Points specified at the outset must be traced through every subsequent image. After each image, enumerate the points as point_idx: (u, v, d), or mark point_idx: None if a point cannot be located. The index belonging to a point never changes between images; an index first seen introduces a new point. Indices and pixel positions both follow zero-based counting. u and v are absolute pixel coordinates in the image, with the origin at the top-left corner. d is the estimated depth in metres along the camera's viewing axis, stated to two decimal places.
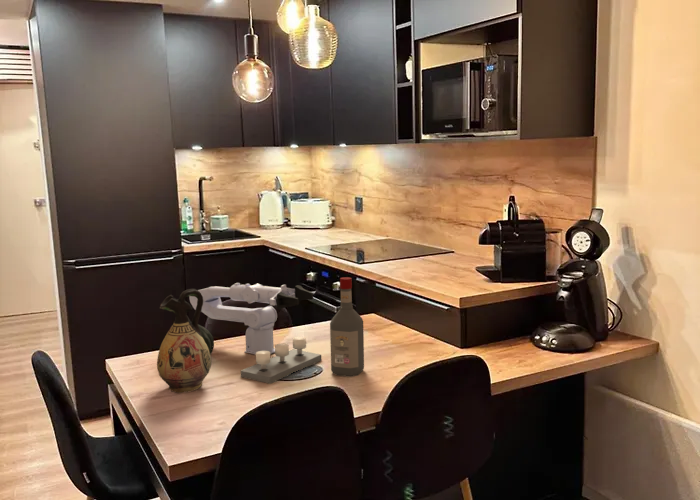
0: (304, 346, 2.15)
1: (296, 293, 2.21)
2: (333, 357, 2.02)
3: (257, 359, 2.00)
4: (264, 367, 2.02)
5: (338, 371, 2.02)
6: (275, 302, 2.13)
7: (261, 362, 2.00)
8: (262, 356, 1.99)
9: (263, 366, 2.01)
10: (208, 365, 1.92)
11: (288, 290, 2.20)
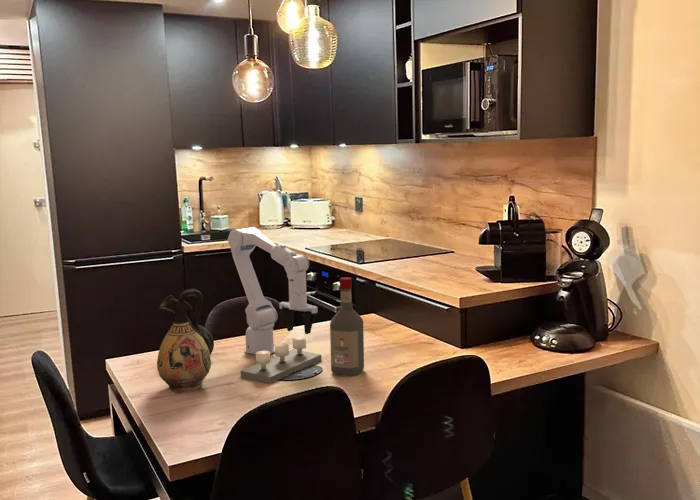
0: (304, 346, 2.15)
1: None
2: (333, 357, 2.02)
3: (257, 359, 2.00)
4: (264, 367, 2.02)
5: (338, 371, 2.02)
6: None
7: (261, 362, 2.00)
8: (262, 356, 1.99)
9: (263, 366, 2.01)
10: (208, 365, 1.92)
11: None
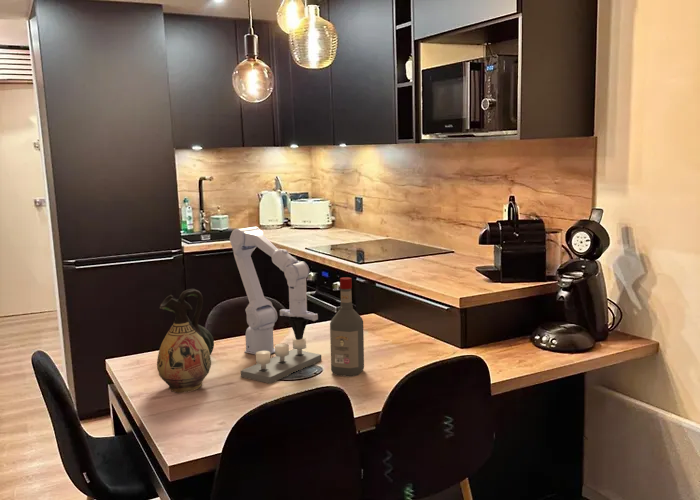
0: (304, 346, 2.15)
1: None
2: (333, 357, 2.02)
3: (257, 359, 2.00)
4: (264, 367, 2.02)
5: (338, 371, 2.02)
6: None
7: (261, 362, 2.00)
8: (262, 356, 1.99)
9: (263, 366, 2.01)
10: (208, 365, 1.92)
11: None
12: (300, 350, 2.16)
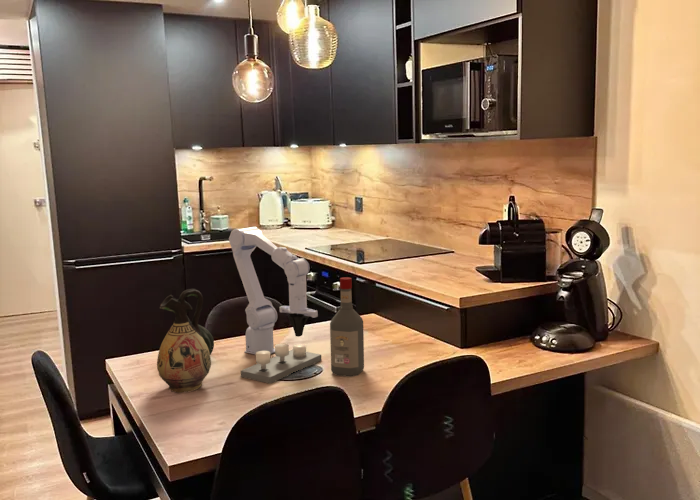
0: (304, 354, 2.16)
1: None
2: (333, 357, 2.02)
3: (257, 359, 2.00)
4: (264, 367, 2.02)
5: (338, 371, 2.02)
6: None
7: (261, 362, 2.00)
8: (262, 356, 1.99)
9: (263, 366, 2.01)
10: (208, 365, 1.92)
11: None
12: None
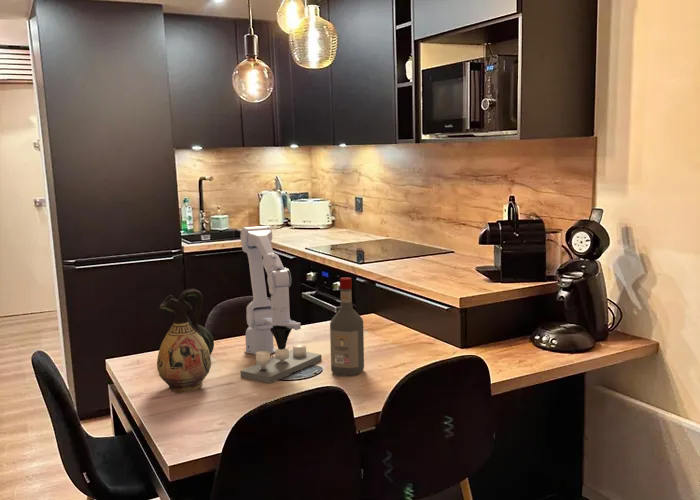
0: (304, 354, 2.16)
1: None
2: (333, 357, 2.02)
3: (257, 359, 2.00)
4: (264, 367, 2.02)
5: (338, 371, 2.02)
6: None
7: (261, 362, 2.00)
8: (262, 356, 1.99)
9: (263, 366, 2.01)
10: (208, 365, 1.92)
11: None
12: None
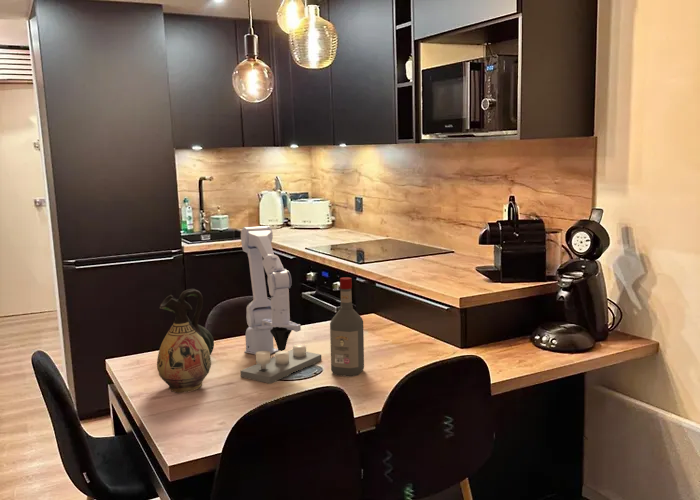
0: (304, 354, 2.16)
1: None
2: (333, 357, 2.02)
3: (257, 359, 2.00)
4: (264, 367, 2.02)
5: (338, 371, 2.02)
6: None
7: (261, 362, 2.00)
8: (262, 356, 1.99)
9: (263, 366, 2.01)
10: (208, 365, 1.92)
11: None
12: None
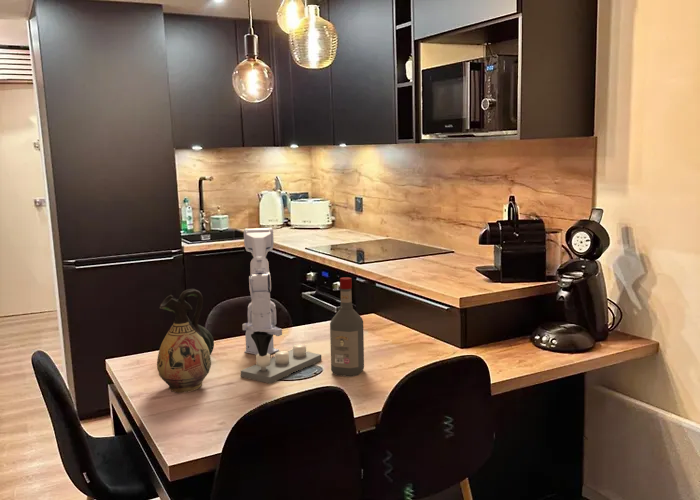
0: (304, 354, 2.16)
1: None
2: (333, 357, 2.02)
3: (257, 361, 2.00)
4: (264, 369, 2.02)
5: (338, 371, 2.02)
6: None
7: (261, 364, 2.00)
8: (262, 358, 2.00)
9: (263, 368, 2.02)
10: (208, 365, 1.92)
11: None
12: None
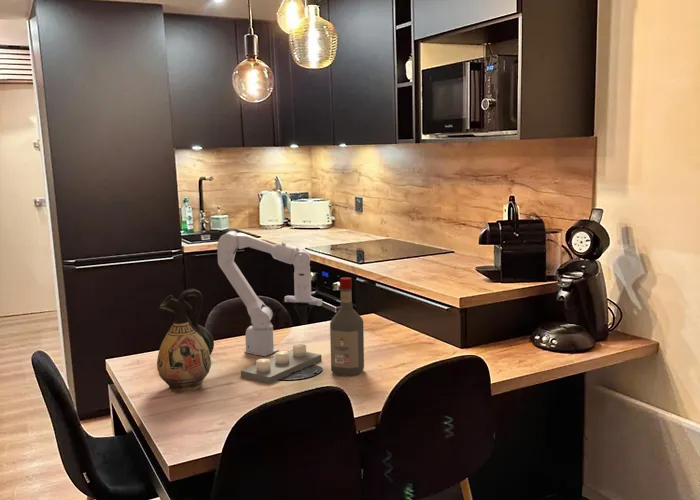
0: (304, 354, 2.16)
1: None
2: (333, 357, 2.02)
3: (257, 367, 2.01)
4: None
5: (338, 371, 2.02)
6: None
7: (261, 370, 2.00)
8: (262, 364, 2.00)
9: None
10: (208, 365, 1.92)
11: None
12: None
